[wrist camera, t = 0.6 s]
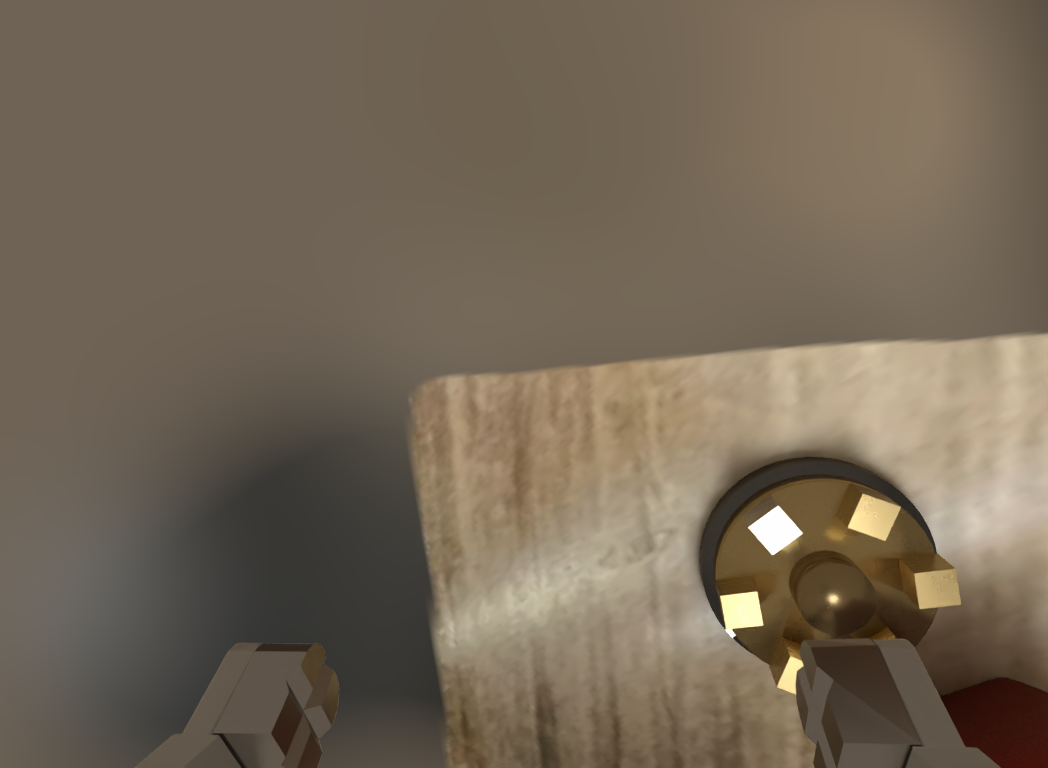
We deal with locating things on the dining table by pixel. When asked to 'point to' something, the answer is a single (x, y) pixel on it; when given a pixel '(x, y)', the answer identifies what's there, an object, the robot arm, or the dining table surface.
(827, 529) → the ring nut
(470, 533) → the dining table surface
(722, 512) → the nut base
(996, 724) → the plant pot
